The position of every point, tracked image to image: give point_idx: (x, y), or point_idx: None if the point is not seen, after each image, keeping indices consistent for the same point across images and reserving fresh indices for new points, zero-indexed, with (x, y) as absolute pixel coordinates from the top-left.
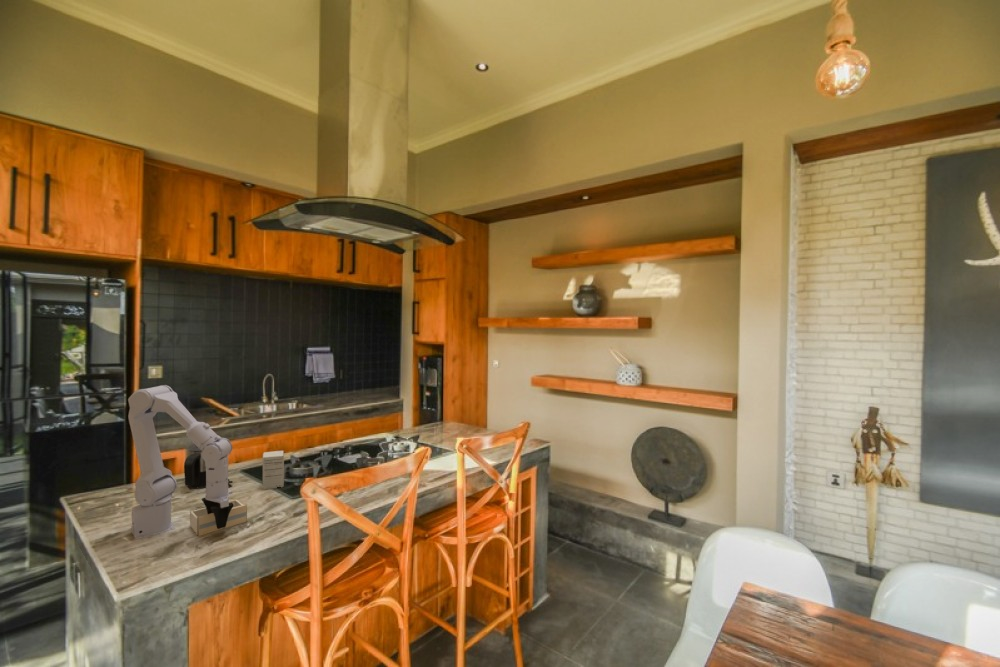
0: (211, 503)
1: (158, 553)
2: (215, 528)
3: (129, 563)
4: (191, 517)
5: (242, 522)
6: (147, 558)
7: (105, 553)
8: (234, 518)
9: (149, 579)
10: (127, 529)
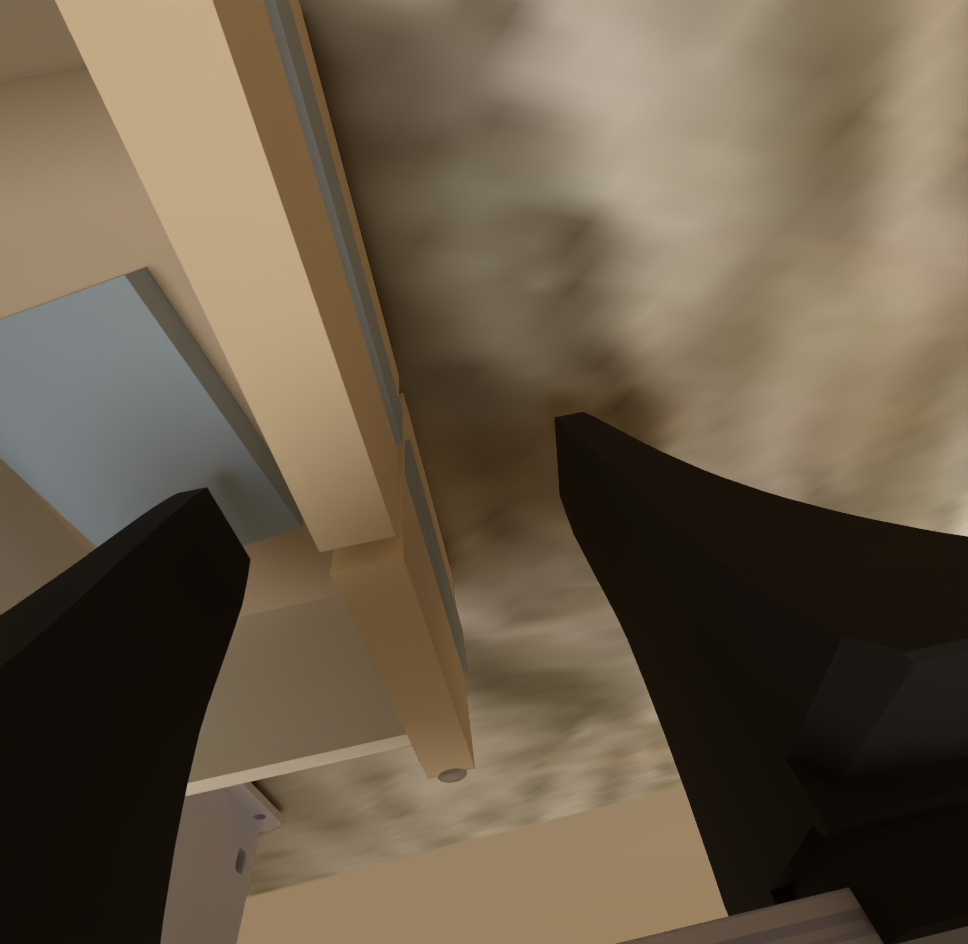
0: (103, 849)
1: (550, 718)
2: (422, 480)
3: (571, 778)
4: None
5: (317, 85)
6: (575, 741)
7: (378, 852)
8: (359, 260)
9: None
10: None
